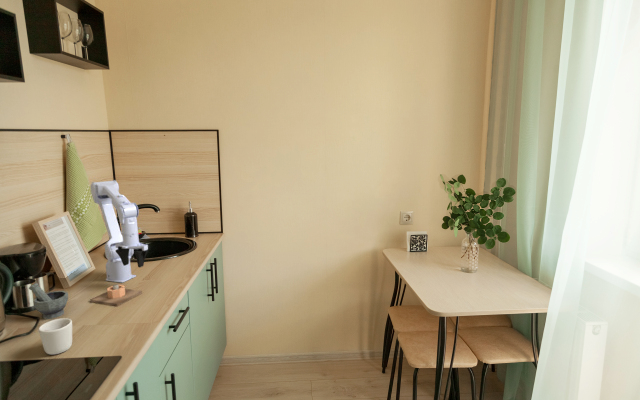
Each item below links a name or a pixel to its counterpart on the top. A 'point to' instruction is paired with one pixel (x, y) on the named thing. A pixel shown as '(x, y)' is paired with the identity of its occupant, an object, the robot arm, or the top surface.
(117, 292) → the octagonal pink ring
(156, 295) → the top surface
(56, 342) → the cup
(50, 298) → the mortar and pestle
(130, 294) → the peg plate
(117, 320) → the top surface
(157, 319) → the top surface
